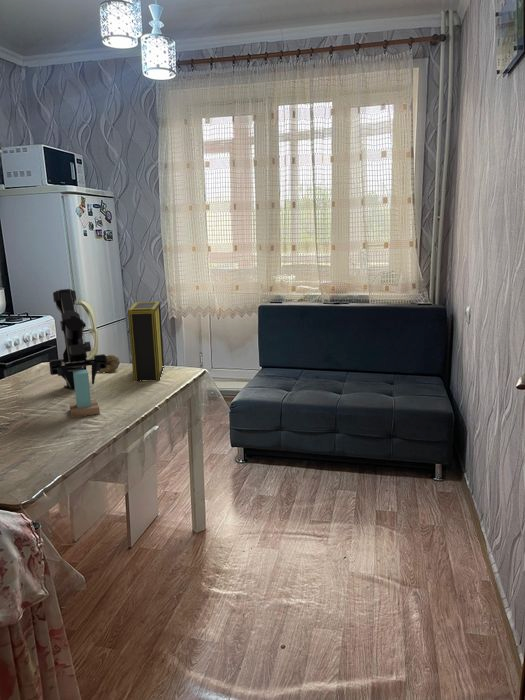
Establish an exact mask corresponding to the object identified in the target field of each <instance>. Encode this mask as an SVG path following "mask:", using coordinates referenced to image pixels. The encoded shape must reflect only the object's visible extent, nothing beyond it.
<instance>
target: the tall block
mask: <svg viewBox="0 0 525 700" xmlns="http://www.w3.org/2000/svg"><path fill="white" fill-rule="evenodd" d="M73 378H74V387H75V389H74V395H75V403H76V405H77V407H78V408H83V407H90V406H91V400H92V399H91V398H92V397H91V389H90V379H89V372H88V369H87V368H86V370H78V371H73Z"/></svg>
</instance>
